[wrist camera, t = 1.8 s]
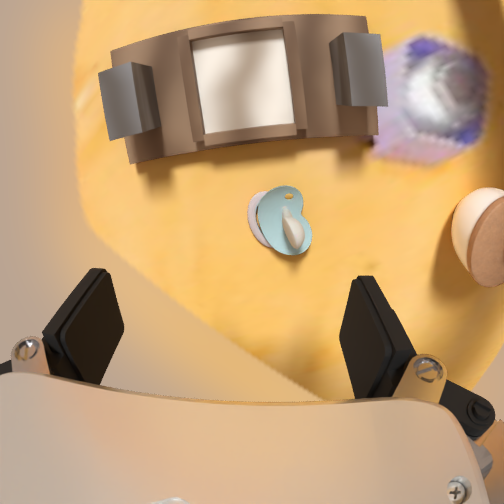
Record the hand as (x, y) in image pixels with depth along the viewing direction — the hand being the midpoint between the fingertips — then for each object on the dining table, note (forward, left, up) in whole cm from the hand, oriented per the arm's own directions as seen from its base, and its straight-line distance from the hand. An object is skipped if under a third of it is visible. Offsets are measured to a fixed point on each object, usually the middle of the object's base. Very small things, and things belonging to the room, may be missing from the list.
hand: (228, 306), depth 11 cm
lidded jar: (-27, +7, -21) cm, 35 cm away
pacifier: (-2, +5, -21) cm, 21 cm away
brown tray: (-1, -9, -20) cm, 22 cm away
